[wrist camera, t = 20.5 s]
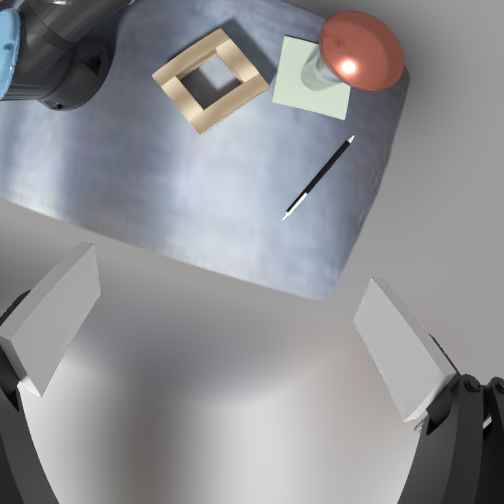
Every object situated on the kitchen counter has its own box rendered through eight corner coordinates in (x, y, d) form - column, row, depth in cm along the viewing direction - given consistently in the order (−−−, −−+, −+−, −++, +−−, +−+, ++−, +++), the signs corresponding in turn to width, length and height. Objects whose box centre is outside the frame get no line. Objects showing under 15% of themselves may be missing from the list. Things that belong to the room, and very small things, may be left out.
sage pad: (271, 102, 37) (272, 101, 36) (283, 37, 32) (284, 36, 32) (343, 120, 38) (344, 120, 38) (353, 57, 34) (355, 56, 33)
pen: (280, 217, 45) (281, 219, 44) (351, 132, 40) (354, 133, 39) (284, 220, 46) (285, 222, 45) (355, 136, 40) (357, 136, 39)
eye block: (158, 80, 34) (151, 75, 30) (221, 36, 32) (220, 27, 28) (202, 134, 38) (199, 134, 35) (266, 90, 36) (269, 86, 32)
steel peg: (276, 67, 34) (302, 27, 18) (321, 43, 32) (370, 2, 16) (309, 113, 37) (357, 104, 21) (352, 88, 35) (417, 72, 19)
